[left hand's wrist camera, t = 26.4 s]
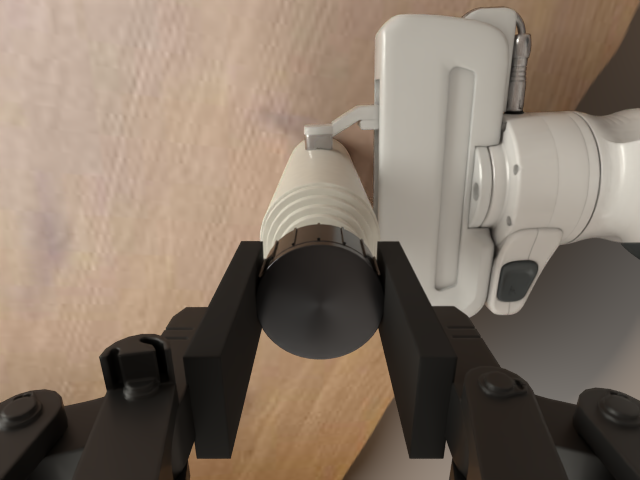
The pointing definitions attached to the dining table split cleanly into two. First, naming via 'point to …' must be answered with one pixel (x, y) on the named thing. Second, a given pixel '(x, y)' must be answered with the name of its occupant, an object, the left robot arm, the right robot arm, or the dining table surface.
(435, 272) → the right robot arm
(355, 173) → the bottle
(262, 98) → the dining table surface
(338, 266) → the cap
